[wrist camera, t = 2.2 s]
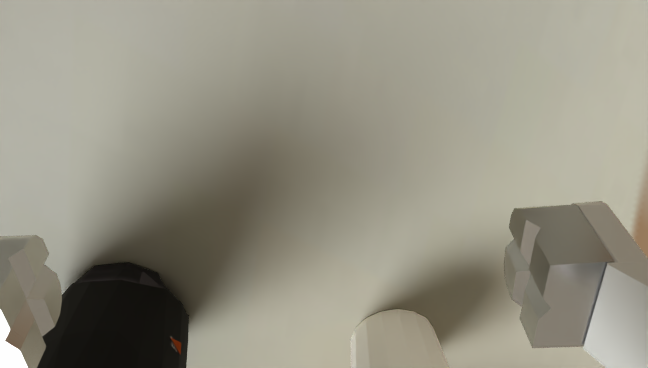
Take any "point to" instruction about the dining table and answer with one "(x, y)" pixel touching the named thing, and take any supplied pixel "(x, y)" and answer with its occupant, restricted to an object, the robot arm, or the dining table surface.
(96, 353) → the portable speaker
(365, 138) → the dining table surface
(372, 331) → the white cylinder
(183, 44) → the dining table surface
